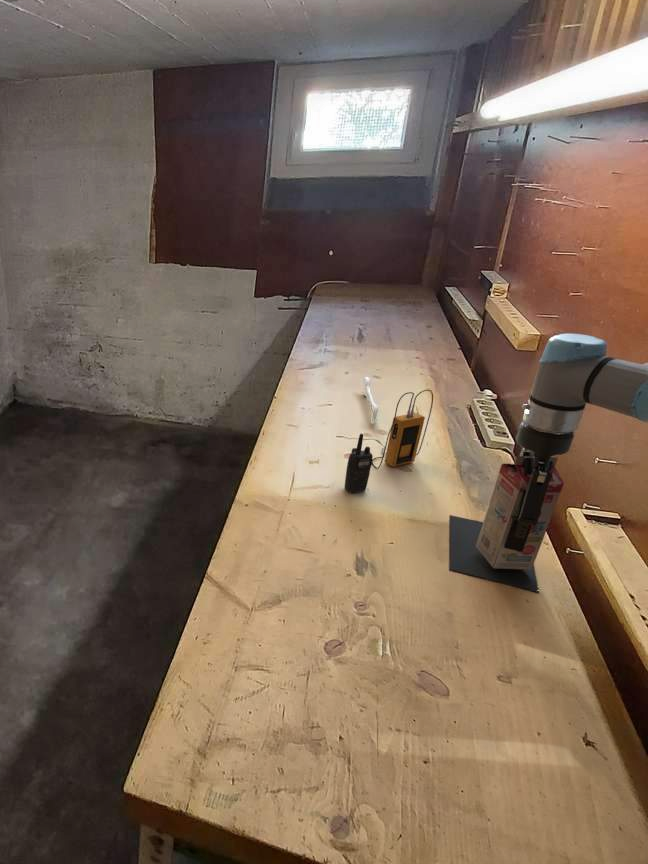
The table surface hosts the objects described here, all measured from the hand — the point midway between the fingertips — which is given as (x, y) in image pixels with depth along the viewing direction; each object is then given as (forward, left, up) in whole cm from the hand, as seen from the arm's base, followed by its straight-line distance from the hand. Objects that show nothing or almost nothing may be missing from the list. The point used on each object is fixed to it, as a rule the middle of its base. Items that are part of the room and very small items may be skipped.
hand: (510, 534), depth 105 cm
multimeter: (+23, -37, -7) cm, 44 cm away
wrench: (+31, -72, -2) cm, 79 cm away
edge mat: (+2, -4, -7) cm, 8 cm away
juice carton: (0, 0, -6) cm, 6 cm away
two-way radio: (+29, -17, -7) cm, 34 cm away
